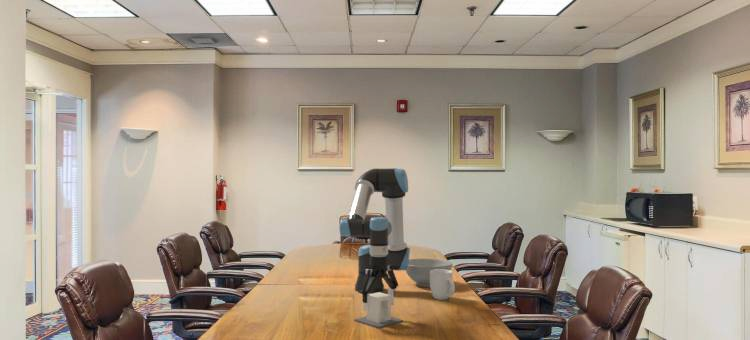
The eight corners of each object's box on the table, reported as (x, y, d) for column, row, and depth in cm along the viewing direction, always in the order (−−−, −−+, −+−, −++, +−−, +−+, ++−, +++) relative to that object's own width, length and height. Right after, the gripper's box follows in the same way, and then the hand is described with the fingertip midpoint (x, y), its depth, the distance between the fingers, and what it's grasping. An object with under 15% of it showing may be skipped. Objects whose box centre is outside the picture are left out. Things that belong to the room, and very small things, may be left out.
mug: (462, 300, 243) (462, 273, 243) (445, 303, 237) (445, 275, 237) (442, 294, 256) (442, 268, 256) (424, 297, 250) (424, 270, 250)
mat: (354, 320, 209) (354, 319, 209) (379, 314, 218) (379, 313, 218) (377, 328, 199) (377, 326, 199) (402, 321, 208) (403, 320, 208)
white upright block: (378, 323, 204) (378, 297, 204) (366, 319, 209) (366, 294, 209) (390, 319, 209) (390, 295, 209) (378, 316, 214) (379, 292, 214)
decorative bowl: (394, 281, 286) (394, 260, 286) (436, 278, 297) (436, 257, 297) (417, 291, 261) (417, 268, 262) (462, 287, 272) (462, 264, 272)
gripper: (362, 260, 198) (362, 315, 198) (406, 253, 215) (406, 303, 215) (349, 257, 203) (349, 311, 203) (394, 250, 220) (393, 300, 220)
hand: (378, 307), depth 209 cm, fingers open, 13 cm apart
